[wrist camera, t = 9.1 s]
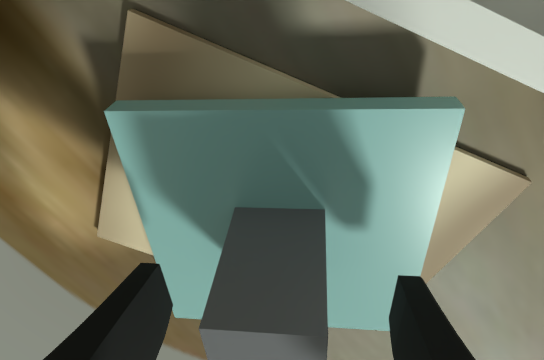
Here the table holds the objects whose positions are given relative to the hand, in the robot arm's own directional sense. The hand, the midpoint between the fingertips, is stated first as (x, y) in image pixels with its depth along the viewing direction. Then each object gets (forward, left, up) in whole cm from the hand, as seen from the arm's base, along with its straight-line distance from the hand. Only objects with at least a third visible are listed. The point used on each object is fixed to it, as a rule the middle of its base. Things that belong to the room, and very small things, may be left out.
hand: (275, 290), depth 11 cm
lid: (0, 0, -4) cm, 4 cm away
